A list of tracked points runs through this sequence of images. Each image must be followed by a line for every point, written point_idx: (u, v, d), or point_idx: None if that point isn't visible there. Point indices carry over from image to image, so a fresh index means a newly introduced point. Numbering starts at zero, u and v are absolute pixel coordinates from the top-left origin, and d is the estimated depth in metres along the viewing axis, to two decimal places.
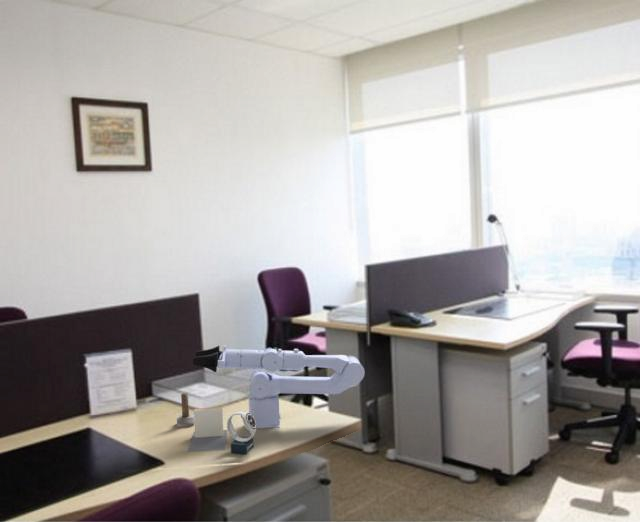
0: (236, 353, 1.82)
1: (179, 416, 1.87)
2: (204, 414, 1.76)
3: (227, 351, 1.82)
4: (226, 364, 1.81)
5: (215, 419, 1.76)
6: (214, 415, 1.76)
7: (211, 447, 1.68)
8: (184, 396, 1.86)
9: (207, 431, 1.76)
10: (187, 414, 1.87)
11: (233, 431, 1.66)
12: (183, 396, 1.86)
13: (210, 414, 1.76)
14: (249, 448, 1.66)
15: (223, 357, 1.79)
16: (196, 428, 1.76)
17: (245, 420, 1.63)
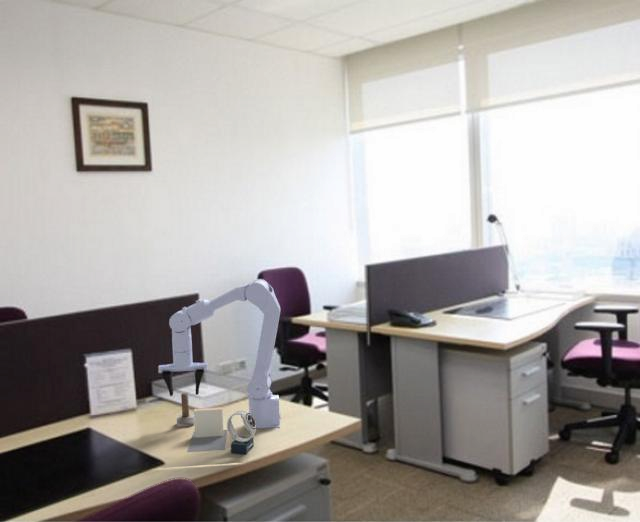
0: None
1: (179, 416, 1.87)
2: (204, 414, 1.76)
3: None
4: (173, 364, 1.84)
5: (215, 419, 1.76)
6: (214, 415, 1.76)
7: (211, 447, 1.68)
8: (184, 396, 1.86)
9: (207, 431, 1.76)
10: (187, 414, 1.87)
11: (233, 431, 1.66)
12: (183, 396, 1.86)
13: (210, 414, 1.76)
14: (249, 448, 1.66)
15: None
16: (196, 428, 1.76)
17: (245, 420, 1.63)
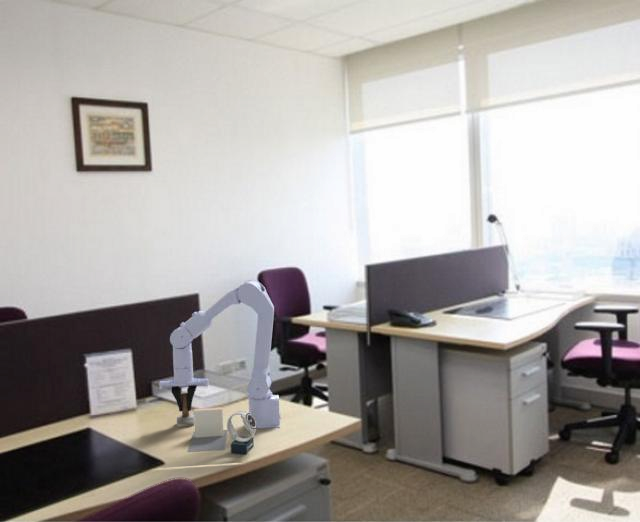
0: None
1: (179, 416, 1.87)
2: (204, 414, 1.76)
3: None
4: (174, 380, 1.85)
5: (215, 419, 1.76)
6: (214, 415, 1.76)
7: (211, 447, 1.68)
8: (184, 396, 1.86)
9: (207, 431, 1.76)
10: (187, 414, 1.87)
11: (233, 431, 1.66)
12: (183, 396, 1.86)
13: (210, 414, 1.76)
14: (249, 448, 1.66)
15: None
16: (196, 428, 1.76)
17: (245, 420, 1.63)
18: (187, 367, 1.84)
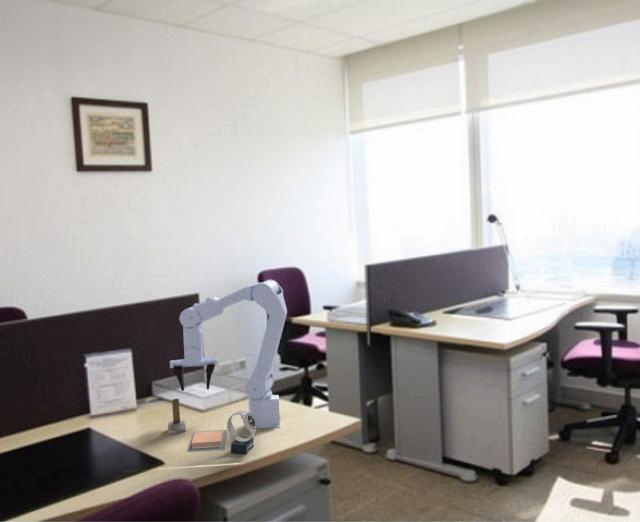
0: None
1: (170, 423, 1.82)
2: None
3: None
4: (185, 360, 1.88)
5: None
6: None
7: (211, 447, 1.68)
8: (175, 402, 1.80)
9: None
10: (178, 420, 1.81)
11: (233, 431, 1.66)
12: (174, 402, 1.80)
13: None
14: (249, 448, 1.66)
15: None
16: None
17: (245, 420, 1.63)
18: (196, 346, 1.86)
